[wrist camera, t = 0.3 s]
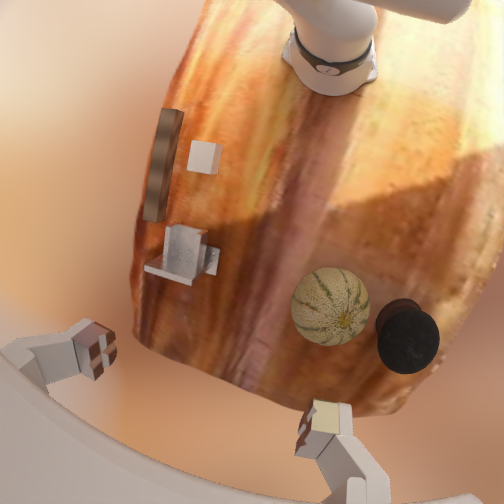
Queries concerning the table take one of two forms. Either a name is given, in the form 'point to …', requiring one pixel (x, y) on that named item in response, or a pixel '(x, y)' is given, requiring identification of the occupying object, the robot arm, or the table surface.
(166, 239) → the bracket
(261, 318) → the table surface
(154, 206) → the walnut rail
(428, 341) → the black rounded lump
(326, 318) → the cantaloupe
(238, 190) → the table surface
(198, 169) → the pale grey block
